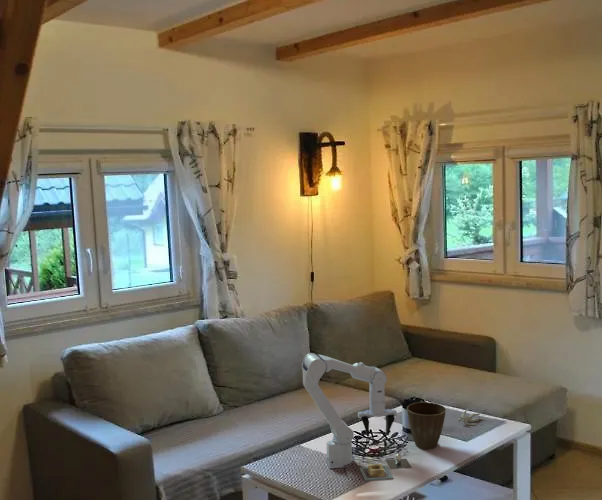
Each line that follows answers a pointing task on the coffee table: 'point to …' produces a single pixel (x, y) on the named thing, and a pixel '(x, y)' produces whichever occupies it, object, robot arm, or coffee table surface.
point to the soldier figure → (469, 418)
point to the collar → (376, 470)
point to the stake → (398, 463)
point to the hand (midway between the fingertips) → (377, 434)
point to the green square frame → (376, 477)
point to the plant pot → (426, 423)
